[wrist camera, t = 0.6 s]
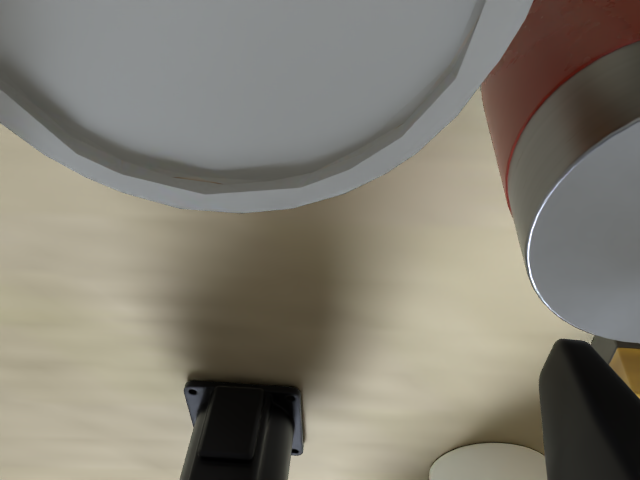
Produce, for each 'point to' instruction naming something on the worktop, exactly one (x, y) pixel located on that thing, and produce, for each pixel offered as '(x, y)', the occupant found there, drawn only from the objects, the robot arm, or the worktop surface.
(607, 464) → the robot arm
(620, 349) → the golden brown bar
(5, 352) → the worktop surface
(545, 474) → the pill bottle
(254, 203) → the disposable coffee cup
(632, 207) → the tin can
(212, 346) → the worktop surface
